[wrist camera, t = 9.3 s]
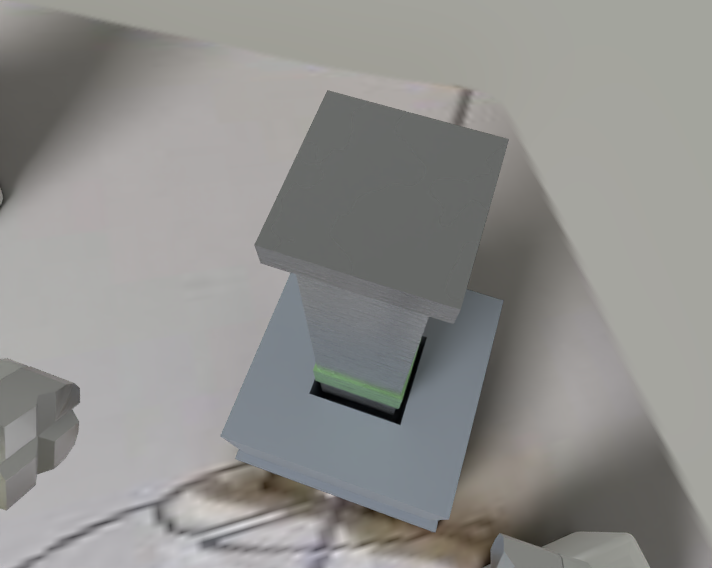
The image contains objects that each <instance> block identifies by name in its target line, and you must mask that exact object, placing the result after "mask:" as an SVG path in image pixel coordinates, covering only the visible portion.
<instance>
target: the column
mask: <svg viewBox="0 0 712 568" xmlns="http://www.w3.org/2000/svg"><path fill="white" fill-rule="evenodd" d="M508 141H509V139H506V138H503V137H499V136H495V135H491V134H488V133H484V132H480V131H477V130H473V129H469V128H465V127H462V126H458V125H454V124H451V123H447V122H443V121H439V120H436V119H432V118H428V117H425V116H421V115H417V114H413V113H410V112H406V111H402V110H399V109H395V108H391V107H387V106H384V105H380V104H376V103H373V102H369V101H365V100H361V99H358V98H354V97H350V96H347V95H343V94H339V93H336V92H332V91H328V90H327V92H326V94H325V97H324V99H323V101H322V103H321V105H320V107H319V109H318V111H317V114H316V116H315V118H314V120H313V122H312V124H311V126H310V128H309V131H308V133H307V135H306V137H305V139H304V141H303V143H302V145H301V148H300V150H299V152H298V154H297V156H296V158H295V160H294V162H293V164H292V167H291V169H290V171H289V173H288V175H287V177H286V179H285V181H284V184H283V186H282V188H281V190H280V192H279V194H278V196H277V198H276V201H275V203H274V205H273V207H272V209H271V211H270V213H269V215H268V218H267V220H266V222H265V224H264V226H263V228H262V230H261V232H260V234H259V237H258V239H257V241H256V243H255V248H256V251H257V254H258V257H259V260H260V262H261V263H262V264H265V265H268V266H271V267H275V268H278V269H281V270H284V271H287V272H290V273H294V274H296V277H297V281H298V285H299V290H300V294H301V299H302V303H303V308H304V312H305V317H306V321H307V325H308V330H309V334H310V339H311V343H312V348H313V352H314V356H315V361H316V363H315V366H314V369H313V372H314V376H315V380H316V381H318V382H320V383H321V387H322V392H325V393H328V394H331V395H334V396H337V397H340V398H343V399H346V400H349V401H351V402H354V403H357V404H360V405H363V406H366V407H369V408H372V409H375V410H378V411H381V412H383V413H386V414H389V415H392V416H393V414H394V411H395V409H396V408H397V409H399V407H400V405H401V402H402V400H403V396H404V393H405V390H406V387H407V383H408V380H409V377H410V374H411V370H412V367H413V364H414V360H415V357H416V354H417V351H418V347H419V344H420V341H421V338H422V335H423V332H424V329H425V326H426V324H427V321H428V318H429V317H432V318H435V319H439V320H442V321H445V322H448V323H451V324H454V322H455V320H456V318H457V316H458V314H459V312H460V310H461V307H462V303H463V300H464V296H465V293H466V289H467V286H468V282H469V279H470V275H471V271H472V268H473V264H474V261H475V257H476V254H477V250H478V247H479V243H480V240H481V236H482V233H483V229H484V226H485V222H486V218H487V215H488V211H489V208H490V204H491V201H492V197H493V194H494V190H495V187H496V183H497V180H498V176H499V172H500V169H501V165H502V162H503V158H504V155H505V151H506V148H507V144H508Z"/></svg>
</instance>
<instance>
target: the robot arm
mask: <svg viewBox="0 0 712 568" xmlns="http://www.w3.org/2000/svg"><path fill="white" fill-rule="evenodd" d="M2 200H3V194H2V191H1V188H0V205H1V203H2ZM79 403H80V388H79V387H78V386H77V385H76V384H74V383H72V382H70V381H67V380H65V379H62V378H59V377H57V376H54V375H51V374H49V373H46V372H44V371H41V370H38V369H36V368H33V367H28V366H26V365H24V364H21V363H18V362H16V361H13V360H11V359H8V358H7V359H0V509H3V510H8V509H9V508H10V507H11V506H12V505H13V504H14V503H16V502H17V501H18V500H19V499H20V498H21V497H22V496H24V495H25V494H26V493H27V492H28V491H29V490H31V489H32V488H33V487H34V486H35V485H36V479H37V474H40V473H43V472H46V471H49V470H52V469H54V468H56V467H57V466H58V465H59V464H60V463H61V462H62V461H63V460H64V459H65V458H66V457H67V455H68V454H69V452H70V451H71V449H72V447H73V446H74V444H75V441H76V438H77V435H78V428H79V421H78V419H77V417H76V416H75V414H74V412H73V410H72V409H73V408H74V407H75V406H77V405H78V404H79ZM483 568H592V567H591V566H590V565H589V563H588V562H585V561H582V560H579V559H576V558H573V557H570V556H567V555H564V554H561V553H556V552H553V551H550V550H547V549H544V548H542V547H539V546H536V545H533V544H530V543H527V542H524V541H521V540H518V539H515V538H512V537H510V536H507V535H504V534H501V533H500V534H499V535H498V536H497V537H496V539H495V541H494V543H493V545H492V547H491V564H489V565H487V566H485V567H483Z"/></svg>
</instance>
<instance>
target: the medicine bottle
mask: <svg viewBox="0 0 712 568" xmlns="http://www.w3.org/2000/svg"><path fill="white" fill-rule="evenodd" d="M542 548H544V549H547V550H550V551H553V552H556V553H561V554H564V555H567V556H570V557H573V558H576V559H579V560H582V561H585V562H588V563H589V565H590V566H591V567H592V568H650V566H649V564H648V562H647V560H646V559H645V557H644V555H643V553H642V551H641V549H640V547H639V545H638V543H637V541H636V540H635V538H634V537H633V536H632V535H631V534H629V533H621V532H580V531H578V532H574V533H572V534H569V535H567V536H565V537H563V538H560V539H558V540H556V541H554V542H551V543H549V544H547V545H545V546H542Z"/></svg>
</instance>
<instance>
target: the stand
mask: <svg viewBox="0 0 712 568" xmlns="http://www.w3.org/2000/svg"><path fill="white" fill-rule="evenodd" d="M503 301H504V300H500V299H497V298H494V297H491V296H487V295H484V294H481V293H478V292H474V291H471V290H468V289H466V293H465V296H464V300H463V303H462V307H461V310H460V312H459V314H458V316H457V318H456V320H455V322H454V324H451V323H448V322H445V321H442V320H439V319H435V318H432V317H429V318H428V321H427V324H426V326H425V329H424V332H423V335H422V338H421V341H420V344H419V347H418V351H417V354H416V357H415V360H414V364H413V367H412V370H411V374H410V377H409V380H408V383H407V387H406V390H405V393H404V396H403V400H402V402H401V405H400V407H399V409H397V408H396V409H395V411H394V414H393V416H392V415H389V414H386V413H383V412H381V411H378V410H375V409H372V408H369V407H366V406H363V405H360V404H357V403H354V402H351V401H349V400H346V399H343V398H340V397H337V396H334V395H331V394H328V393H325V392H322V387H321V383H320V382H318V381H316V380H315V376H314V372H313V369H314V366H315V363H316V361H315V356H314V352H313V348H312V343H311V339H310V334H309V330H308V325H307V321H306V317H305V312H304V308H303V303H302V299H301V294H300V290H299V285H298V281H297V277H296V274H294V273H290V276H289V278H288V280H287V283H286V285H285V287H284V290H283V292H282V294H281V297H280V299H279V301H278V304H277V306H276V308H275V311H274V313H273V315H272V318H271V320H270V322H269V325H268V327H267V329H266V331H265V334H264V336H263V338H262V341H261V343H260V345H259V348H258V350H257V352H256V355H255V357H254V359H253V362H252V364H251V366H250V369H249V371H248V373H247V376H246V378H245V380H244V383H243V385H242V387H241V389H240V392H239V394H238V396H237V399H236V401H235V403H234V406H233V408H232V410H231V413H230V415H229V417H228V420H227V422H226V424H225V427H224V429H223V431H222V434H221V437H222V438H224V439H225V440H227V441H228V442H230V443H231V444H233V445H234V446H236V447H237V448H239V450H238V453H237V455H236V458H235V459H237V460H239V461H242V462H245V463H247V464H250V465H253V466H255V467H258V468H261V469H264V470H266V471H269V472H272V473H274V474H277V475H280V476H283V477H285V478H288V479H291V480H293V481H296V482H299V483H302V484H304V485H307V486H310V487H312V488H315V489H318V490H321V491H323V492H326V493H329V494H331V495H334V496H337V497H340V498H342V499H345V500H348V501H350V502H353V503H356V504H359V505H361V506H364V507H367V508H370V509H372V510H375V511H378V512H380V513H383V514H386V515H389V516H391V517H394V518H397V519H399V520H402V521H405V522H408V523H410V524H413V525H416V526H418V527H421V528H424V529H427V530H429V531H432V532H436V528H437V524H438V520H446V519H449V517H450V513H451V509H452V505H453V501H454V497H455V493H456V489H457V485H458V481H459V477H460V473H461V469H462V465H463V461H464V457H465V453H466V449H467V445H468V441H469V437H470V433H471V429H472V425H473V421H474V417H475V413H476V409H477V405H478V401H479V397H480V393H481V389H482V385H483V381H484V377H485V373H486V369H487V365H488V361H489V357H490V353H491V349H492V345H493V341H494V337H495V333H496V329H497V325H498V321H499V317H500V313H501V309H502V305H503Z"/></svg>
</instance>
